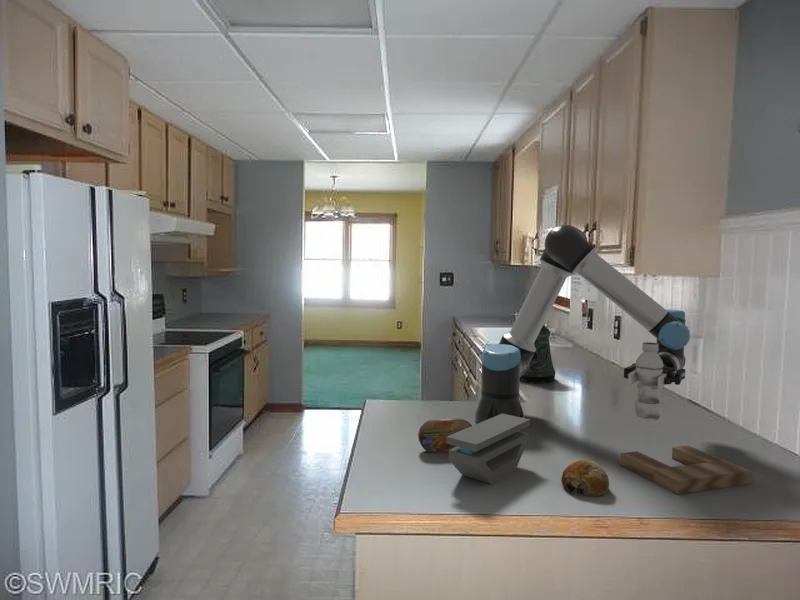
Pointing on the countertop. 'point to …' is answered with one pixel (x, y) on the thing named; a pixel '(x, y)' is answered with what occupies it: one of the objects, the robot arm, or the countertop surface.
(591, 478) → the bread roll
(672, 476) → the notched board
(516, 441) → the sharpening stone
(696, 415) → the countertop surface
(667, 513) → the countertop surface
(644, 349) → the plastic bottle
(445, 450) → the tin
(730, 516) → the countertop surface
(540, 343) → the beer stein
